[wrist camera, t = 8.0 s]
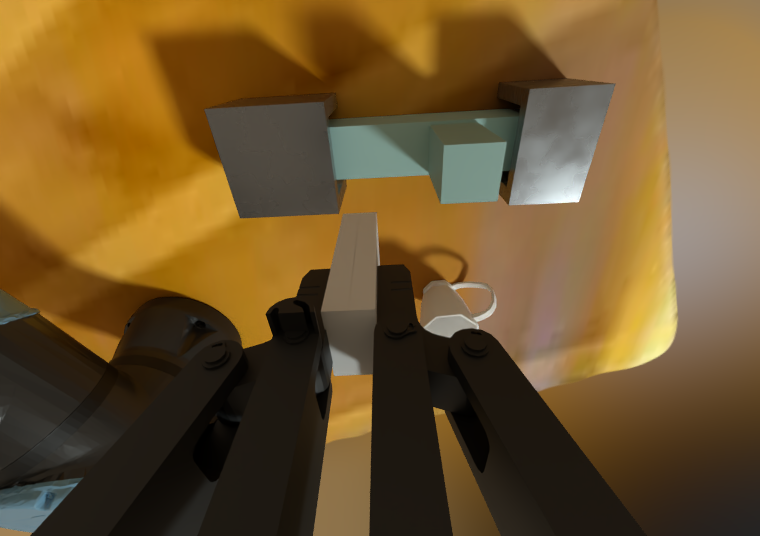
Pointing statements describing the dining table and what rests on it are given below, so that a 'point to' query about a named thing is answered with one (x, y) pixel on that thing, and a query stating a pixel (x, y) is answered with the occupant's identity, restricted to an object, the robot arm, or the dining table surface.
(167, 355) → the robot arm
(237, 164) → the gray block
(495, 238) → the dining table surface
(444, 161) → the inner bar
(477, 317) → the cup
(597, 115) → the socket
